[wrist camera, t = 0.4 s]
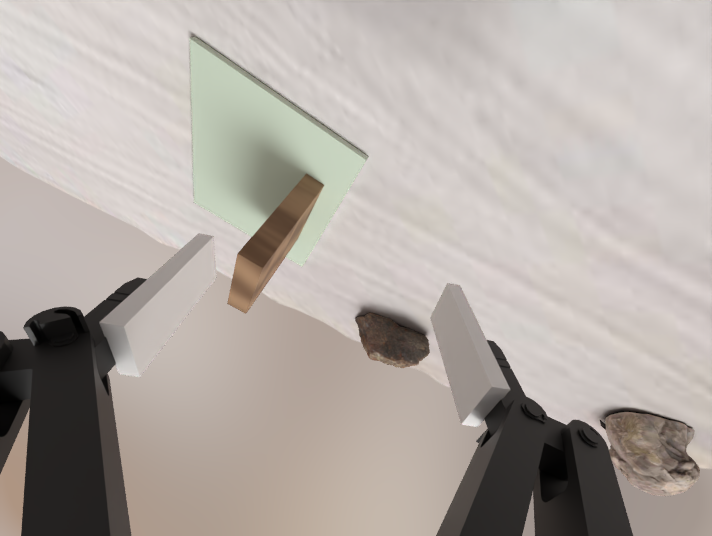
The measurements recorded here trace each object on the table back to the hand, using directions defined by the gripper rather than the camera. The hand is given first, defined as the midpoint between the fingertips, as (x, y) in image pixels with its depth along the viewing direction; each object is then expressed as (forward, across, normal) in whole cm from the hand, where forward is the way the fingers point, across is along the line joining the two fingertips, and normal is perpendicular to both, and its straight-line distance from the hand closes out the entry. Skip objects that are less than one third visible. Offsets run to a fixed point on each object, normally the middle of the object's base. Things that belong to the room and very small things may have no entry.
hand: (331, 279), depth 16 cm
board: (+23, -5, -6) cm, 25 cm away
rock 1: (+27, +14, -28) cm, 42 cm away
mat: (+25, -11, -4) cm, 27 cm away
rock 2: (+15, +61, -30) cm, 70 cm away
